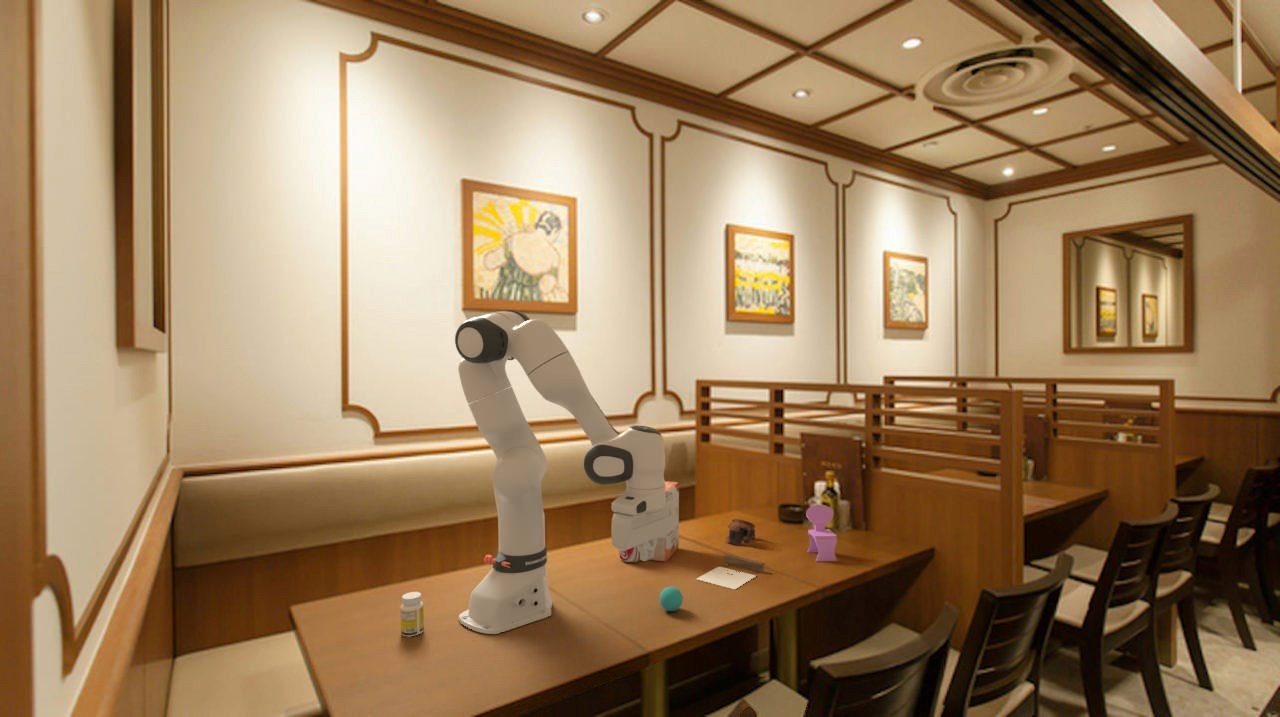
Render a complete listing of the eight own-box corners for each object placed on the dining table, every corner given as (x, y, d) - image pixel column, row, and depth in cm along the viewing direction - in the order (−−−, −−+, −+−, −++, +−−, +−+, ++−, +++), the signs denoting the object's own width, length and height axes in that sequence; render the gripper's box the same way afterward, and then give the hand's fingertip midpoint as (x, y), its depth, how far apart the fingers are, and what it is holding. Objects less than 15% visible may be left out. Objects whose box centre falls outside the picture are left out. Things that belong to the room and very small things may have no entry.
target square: (735, 590, 160) (735, 589, 160) (695, 579, 168) (695, 579, 168) (756, 576, 170) (756, 575, 170) (718, 567, 177) (718, 566, 177)
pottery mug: (718, 542, 202) (725, 517, 205) (742, 552, 205) (748, 527, 208) (739, 542, 192) (745, 516, 195) (763, 553, 194) (769, 527, 198)
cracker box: (667, 562, 181) (667, 491, 181) (647, 560, 183) (647, 489, 183) (680, 548, 195) (679, 481, 194) (661, 546, 197) (661, 480, 196)
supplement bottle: (416, 626, 141) (415, 589, 141) (428, 632, 138) (427, 594, 138) (396, 633, 137) (396, 595, 137) (408, 640, 134) (407, 601, 134)
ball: (674, 617, 145) (673, 593, 144) (655, 611, 148) (654, 588, 148) (687, 609, 149) (687, 586, 149) (668, 603, 152) (668, 581, 152)
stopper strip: (761, 573, 172) (761, 564, 172) (724, 564, 180) (724, 555, 180) (764, 571, 173) (764, 562, 173) (726, 562, 181) (726, 554, 181)
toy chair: (812, 562, 181) (812, 510, 181) (803, 552, 190) (803, 503, 190) (841, 561, 181) (840, 510, 181) (830, 551, 190) (830, 502, 190)
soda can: (642, 564, 181) (642, 522, 180) (618, 564, 181) (618, 522, 181) (643, 555, 188) (642, 516, 188) (619, 555, 188) (619, 516, 188)
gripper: (661, 487, 151) (662, 544, 151) (606, 505, 134) (607, 568, 135) (683, 491, 147) (684, 549, 147) (628, 509, 131) (629, 575, 131)
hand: (646, 559), depth 141 cm, fingers closed
